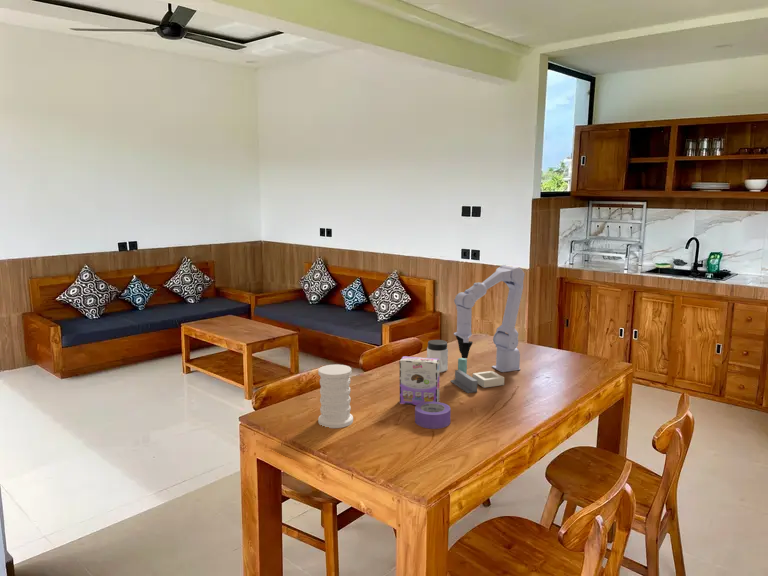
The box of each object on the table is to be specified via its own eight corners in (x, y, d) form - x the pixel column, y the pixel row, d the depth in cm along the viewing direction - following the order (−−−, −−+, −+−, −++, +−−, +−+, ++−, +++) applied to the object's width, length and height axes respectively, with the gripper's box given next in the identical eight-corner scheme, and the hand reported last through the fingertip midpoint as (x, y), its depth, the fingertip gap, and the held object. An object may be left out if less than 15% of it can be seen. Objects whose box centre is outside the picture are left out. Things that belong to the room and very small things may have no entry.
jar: (437, 374, 245) (437, 346, 243) (422, 369, 251) (423, 342, 249) (451, 369, 251) (451, 342, 249) (436, 365, 257) (437, 338, 255)
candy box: (439, 401, 214) (440, 358, 212) (436, 407, 209) (437, 362, 206) (402, 398, 218) (403, 355, 215) (398, 403, 213) (399, 359, 210)
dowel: (463, 373, 245) (464, 357, 244) (468, 376, 242) (468, 359, 241) (456, 374, 244) (456, 358, 243) (460, 377, 241) (460, 360, 240)
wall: (459, 380, 237) (459, 369, 236) (477, 391, 224) (477, 380, 223) (450, 381, 236) (450, 370, 235) (467, 393, 223) (468, 381, 222)
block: (491, 377, 240) (492, 370, 239) (504, 384, 231) (504, 377, 231) (472, 380, 236) (472, 373, 236) (484, 387, 228) (484, 380, 228)
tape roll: (408, 424, 195) (408, 409, 194) (424, 412, 205) (425, 398, 204) (441, 432, 189) (441, 417, 188) (456, 419, 199) (456, 405, 198)
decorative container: (341, 430, 189) (341, 377, 186) (311, 424, 195) (310, 372, 191) (359, 418, 200) (358, 367, 196) (330, 412, 205) (329, 362, 202)
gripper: (452, 318, 243) (451, 350, 246) (456, 326, 229) (455, 360, 232) (469, 318, 243) (468, 350, 246) (474, 326, 229) (473, 360, 232)
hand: (463, 355), depth 239 cm, fingers open, 7 cm apart
